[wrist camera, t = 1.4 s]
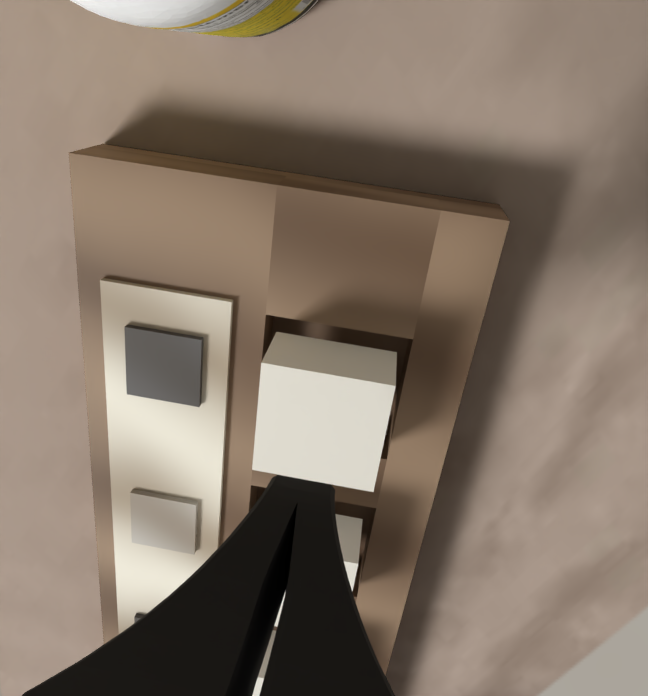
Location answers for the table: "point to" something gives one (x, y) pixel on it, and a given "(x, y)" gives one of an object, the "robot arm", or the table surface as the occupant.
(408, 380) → the button board
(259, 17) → the supplement bottle
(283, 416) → the button
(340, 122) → the table surface
